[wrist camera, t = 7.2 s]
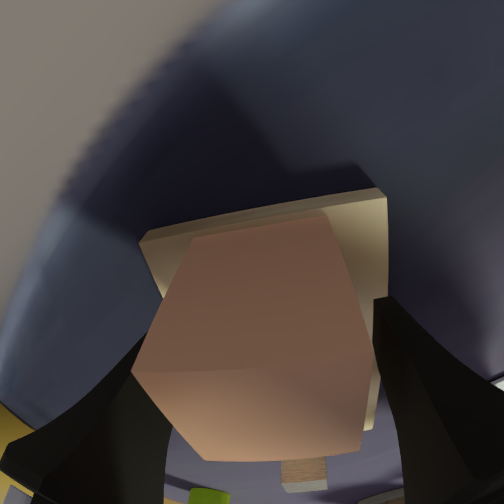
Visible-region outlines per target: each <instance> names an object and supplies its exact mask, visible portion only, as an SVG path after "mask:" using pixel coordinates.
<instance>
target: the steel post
mask: <svg viewBox="0 0 504 504" xmlns="http://www.w3.org/2000/svg"><path fill="white" fill-rule="evenodd" d="M281 484H282V486H283V487H284V489H285V491H286V492H287V493H294V492H307V491H317V490H326V489H327V470H326V456H323V457H315V458H305V459H293V460H281Z"/></svg>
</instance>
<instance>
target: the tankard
mask: <svg viewBox="0 0 504 504" xmlns="http://www.w3.org/2000/svg"><path fill="white" fill-rule="evenodd" d="M358 504H405V498H404V487H403V488H399V489H394V490H390V491H386V492H382V493H380V494H377V495H374V496H371V497H368V498H365V499H362V500H360V501H359V502H358Z"/></svg>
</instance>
